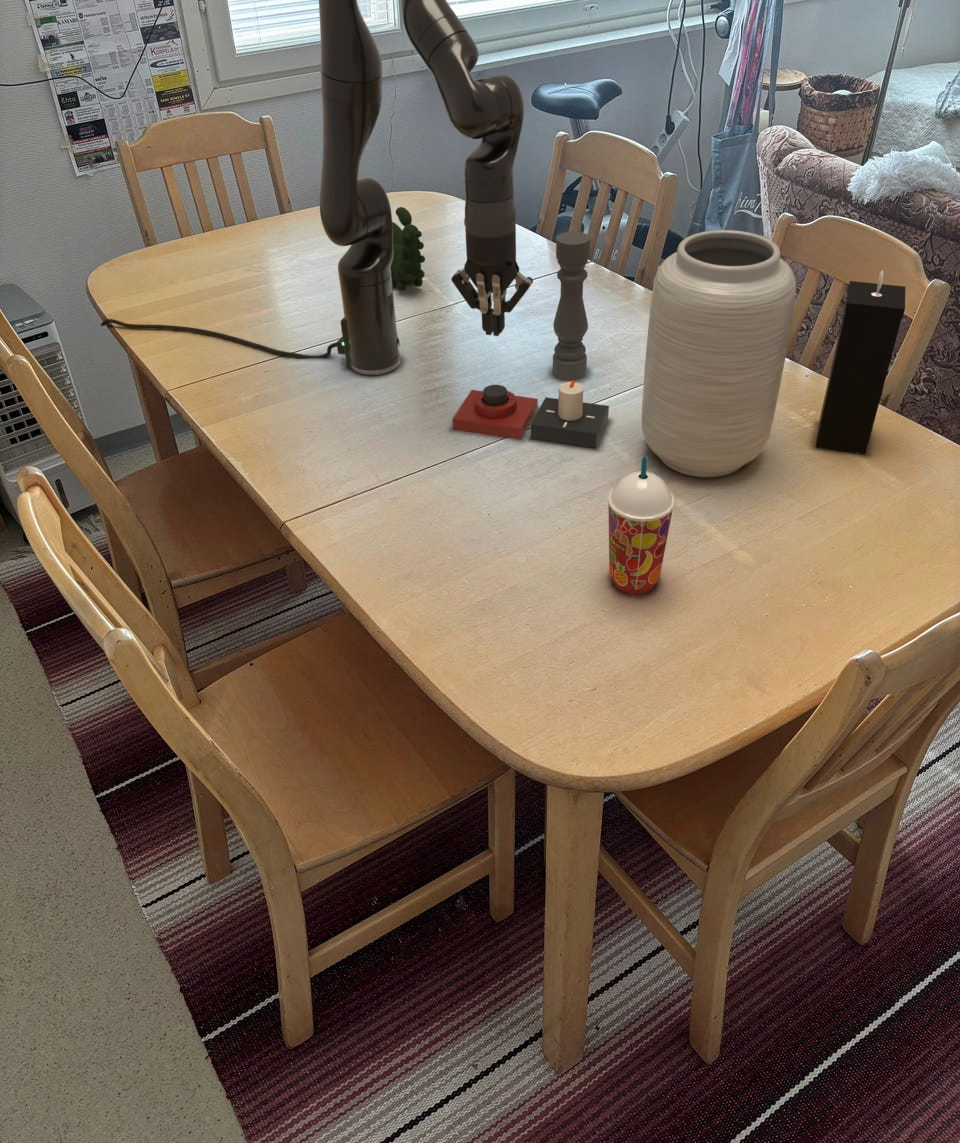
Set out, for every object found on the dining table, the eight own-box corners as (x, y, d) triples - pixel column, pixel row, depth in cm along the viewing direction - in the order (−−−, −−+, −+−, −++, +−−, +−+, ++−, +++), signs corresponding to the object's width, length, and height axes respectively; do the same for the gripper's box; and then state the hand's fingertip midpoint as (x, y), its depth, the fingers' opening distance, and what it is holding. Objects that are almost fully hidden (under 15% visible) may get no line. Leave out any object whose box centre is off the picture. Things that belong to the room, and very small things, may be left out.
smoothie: (598, 564, 134) (605, 442, 121) (657, 559, 135) (670, 437, 122) (609, 604, 128) (617, 479, 115) (671, 598, 128) (686, 474, 115)
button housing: (453, 429, 163) (451, 409, 160) (472, 400, 170) (471, 380, 167) (521, 439, 159) (521, 419, 157) (537, 409, 167) (537, 389, 164)
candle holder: (584, 382, 173) (589, 246, 157) (550, 380, 174) (552, 244, 158) (588, 365, 178) (593, 231, 162) (554, 363, 179) (557, 230, 163)
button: (480, 405, 161) (479, 394, 160) (487, 393, 164) (487, 383, 163) (503, 408, 160) (502, 397, 159) (510, 396, 163) (510, 386, 162)
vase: (688, 503, 144) (716, 290, 123) (613, 440, 158) (626, 239, 137) (793, 465, 151) (837, 256, 129) (712, 408, 165) (739, 211, 143)
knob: (579, 422, 157) (580, 393, 154) (555, 419, 158) (556, 390, 155) (584, 409, 160) (585, 381, 157) (561, 406, 161) (561, 378, 158)
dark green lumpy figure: (437, 300, 206) (392, 251, 221) (435, 214, 192) (386, 168, 208) (397, 310, 202) (353, 260, 218) (391, 224, 189) (345, 176, 205)
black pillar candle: (867, 430, 158) (911, 264, 140) (865, 455, 152) (911, 286, 134) (818, 423, 160) (854, 259, 142) (814, 448, 155) (851, 280, 136)
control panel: (530, 439, 159) (530, 423, 157) (545, 412, 166) (545, 396, 164) (595, 449, 157) (596, 432, 154) (608, 421, 163) (609, 404, 161)
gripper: (540, 220, 144) (540, 327, 155) (456, 213, 148) (461, 318, 159) (526, 239, 139) (527, 349, 150) (439, 231, 142) (446, 339, 153)
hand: (493, 333), depth 154 cm, fingers closed
